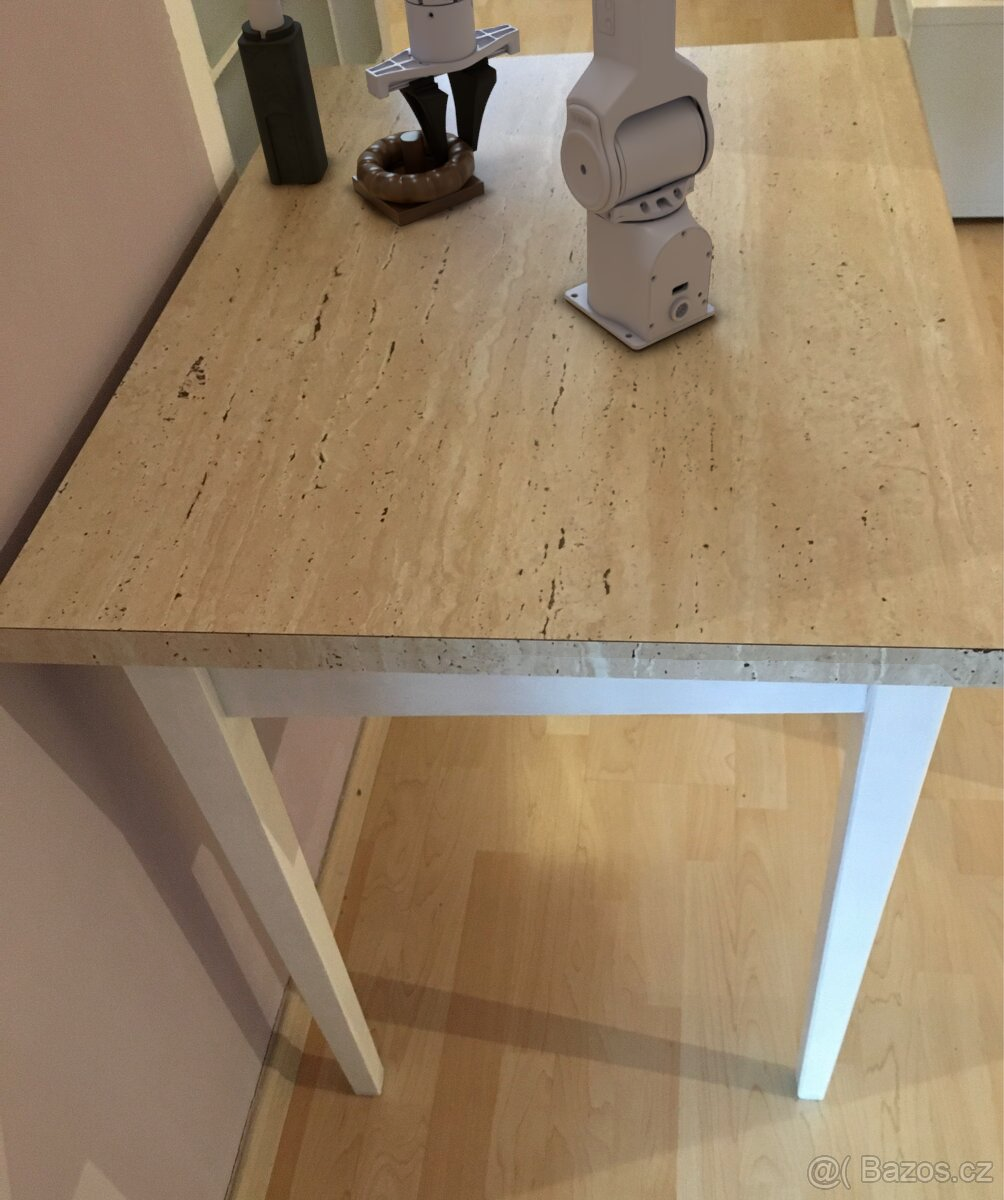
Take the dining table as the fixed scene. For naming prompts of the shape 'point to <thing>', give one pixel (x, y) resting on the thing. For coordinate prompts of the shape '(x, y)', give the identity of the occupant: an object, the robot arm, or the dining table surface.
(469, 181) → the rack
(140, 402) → the dining table surface
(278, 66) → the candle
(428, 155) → the segmented ring
